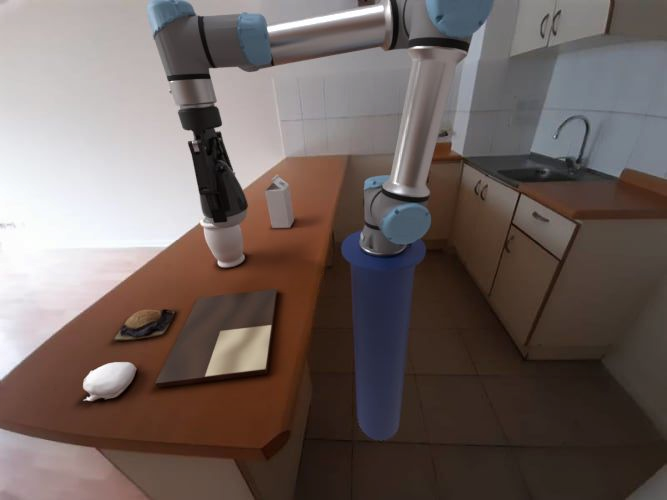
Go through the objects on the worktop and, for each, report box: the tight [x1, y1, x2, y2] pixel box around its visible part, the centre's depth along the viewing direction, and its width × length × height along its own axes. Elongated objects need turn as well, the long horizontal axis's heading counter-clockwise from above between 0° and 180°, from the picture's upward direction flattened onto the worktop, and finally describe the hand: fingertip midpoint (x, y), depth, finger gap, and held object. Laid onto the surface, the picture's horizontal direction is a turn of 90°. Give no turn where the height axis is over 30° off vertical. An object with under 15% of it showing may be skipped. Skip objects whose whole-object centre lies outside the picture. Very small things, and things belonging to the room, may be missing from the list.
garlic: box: [82, 361, 137, 402], centre depth 51 cm, size 8×7×4 cm
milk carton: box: [264, 173, 295, 229], centre depth 105 cm, size 7×7×19 cm
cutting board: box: [154, 288, 278, 389], centre depth 61 cm, size 20×24×2 cm
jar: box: [199, 216, 246, 269], centre depth 84 cm, size 11×10×15 cm
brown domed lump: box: [114, 308, 176, 342], centre depth 64 cm, size 11×8×4 cm
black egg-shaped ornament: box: [198, 158, 249, 228], centre depth 63 cm, size 10×10×15 cm
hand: (227, 212), depth 65 cm, fingers closed on black egg-shaped ornament, 10 cm apart
